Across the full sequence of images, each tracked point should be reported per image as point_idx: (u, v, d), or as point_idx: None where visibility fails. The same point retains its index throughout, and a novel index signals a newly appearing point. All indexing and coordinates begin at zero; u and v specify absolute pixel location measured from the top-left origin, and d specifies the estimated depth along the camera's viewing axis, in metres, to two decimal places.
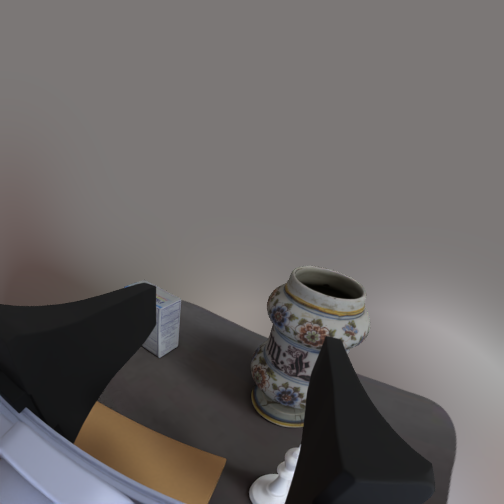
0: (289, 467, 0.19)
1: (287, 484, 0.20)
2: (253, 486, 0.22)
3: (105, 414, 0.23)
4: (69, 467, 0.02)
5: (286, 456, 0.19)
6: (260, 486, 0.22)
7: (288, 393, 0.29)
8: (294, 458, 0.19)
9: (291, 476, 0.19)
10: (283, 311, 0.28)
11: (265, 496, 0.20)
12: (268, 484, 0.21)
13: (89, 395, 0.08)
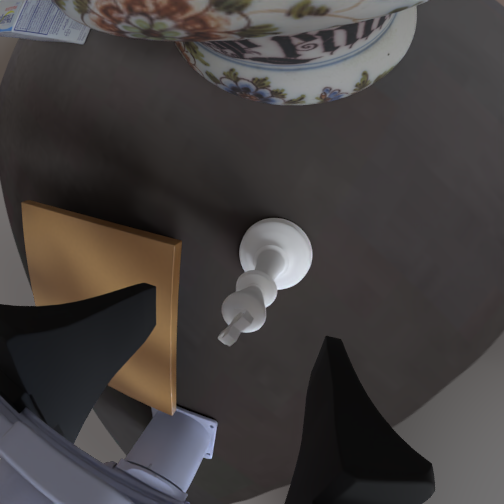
0: None
1: None
2: (240, 249, 0.20)
3: (48, 222, 0.20)
4: (69, 467, 0.02)
5: (222, 313, 0.13)
6: (249, 251, 0.19)
7: (246, 91, 0.11)
8: None
9: None
10: None
11: (255, 269, 0.20)
12: (256, 256, 0.19)
13: (89, 395, 0.08)
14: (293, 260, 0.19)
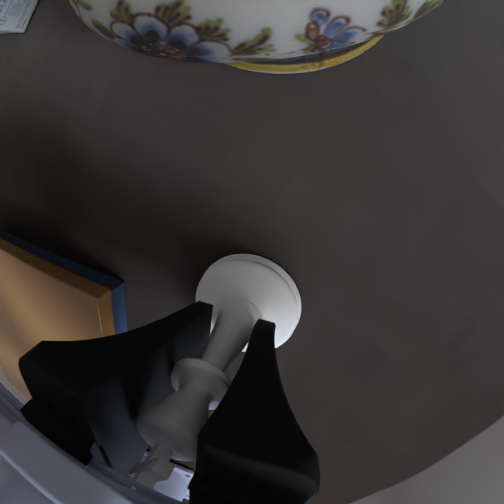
0: None
1: None
2: (197, 298, 0.13)
3: None
4: (69, 467, 0.02)
5: (140, 432, 0.07)
6: None
7: (153, 39, 0.05)
8: None
9: None
10: None
11: None
12: (215, 312, 0.12)
13: None
14: (272, 319, 0.12)
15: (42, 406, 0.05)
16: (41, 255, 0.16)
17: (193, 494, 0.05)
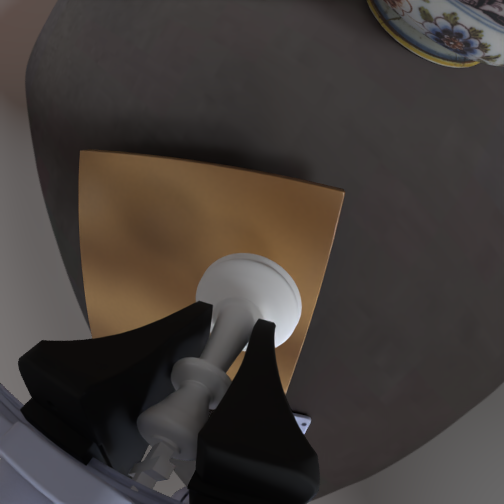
0: None
1: None
2: (197, 297, 0.13)
3: (128, 171, 0.16)
4: (69, 467, 0.02)
5: (140, 431, 0.07)
6: (207, 302, 0.13)
7: (458, 36, 0.07)
8: None
9: None
10: None
11: None
12: (215, 312, 0.12)
13: None
14: (272, 318, 0.12)
15: (42, 406, 0.05)
16: None
17: (193, 494, 0.05)
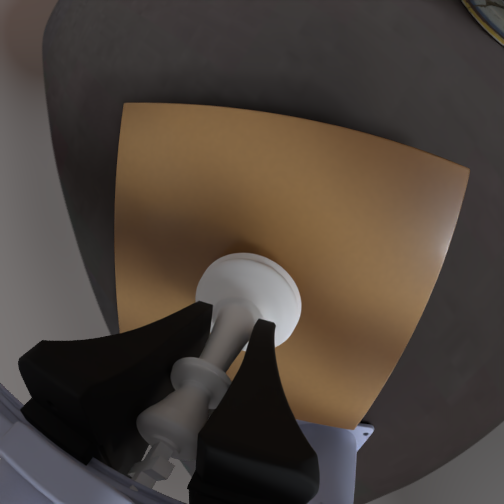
0: None
1: None
2: (197, 297, 0.13)
3: (199, 126, 0.12)
4: (69, 467, 0.02)
5: (139, 431, 0.07)
6: (207, 302, 0.13)
7: None
8: None
9: None
10: None
11: None
12: (215, 311, 0.12)
13: None
14: (272, 318, 0.12)
15: (42, 406, 0.05)
16: None
17: (193, 494, 0.05)
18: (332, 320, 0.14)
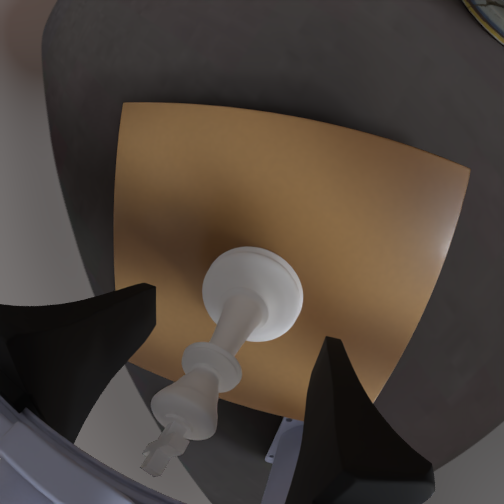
0: None
1: None
2: (203, 289, 0.14)
3: (198, 126, 0.12)
4: (69, 467, 0.02)
5: (153, 412, 0.07)
6: (214, 293, 0.14)
7: None
8: None
9: None
10: None
11: None
12: (222, 302, 0.13)
13: (89, 395, 0.08)
14: (275, 308, 0.13)
15: None
16: None
17: None
18: (332, 320, 0.14)
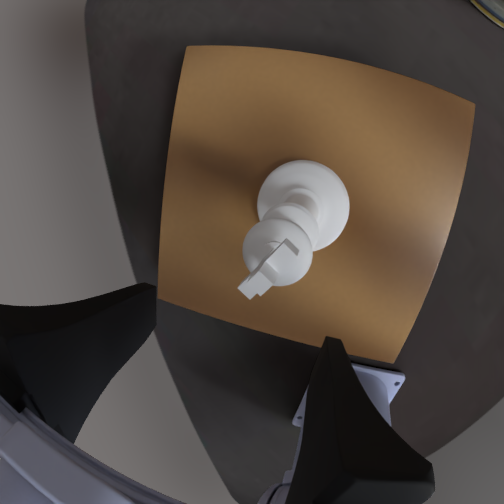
0: None
1: None
2: (259, 199, 0.15)
3: (258, 62, 0.14)
4: (69, 467, 0.02)
5: (244, 254, 0.09)
6: (270, 201, 0.15)
7: None
8: None
9: None
10: None
11: None
12: None
13: (89, 395, 0.08)
14: (328, 211, 0.14)
15: None
16: None
17: None
18: (375, 230, 0.15)
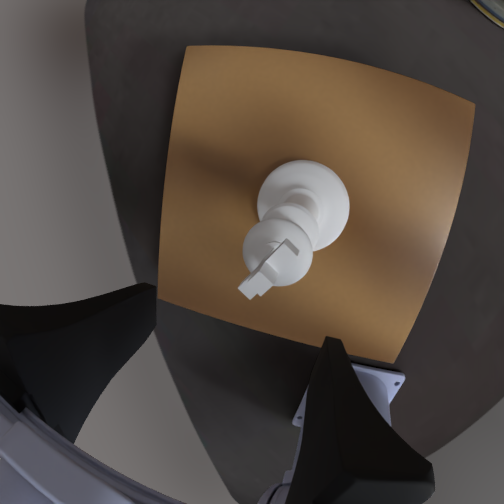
0: None
1: None
2: (259, 199, 0.15)
3: (258, 62, 0.14)
4: (69, 467, 0.02)
5: (244, 254, 0.09)
6: (270, 200, 0.15)
7: None
8: None
9: None
10: None
11: None
12: None
13: (89, 395, 0.08)
14: (328, 211, 0.14)
15: None
16: None
17: None
18: (375, 230, 0.15)
